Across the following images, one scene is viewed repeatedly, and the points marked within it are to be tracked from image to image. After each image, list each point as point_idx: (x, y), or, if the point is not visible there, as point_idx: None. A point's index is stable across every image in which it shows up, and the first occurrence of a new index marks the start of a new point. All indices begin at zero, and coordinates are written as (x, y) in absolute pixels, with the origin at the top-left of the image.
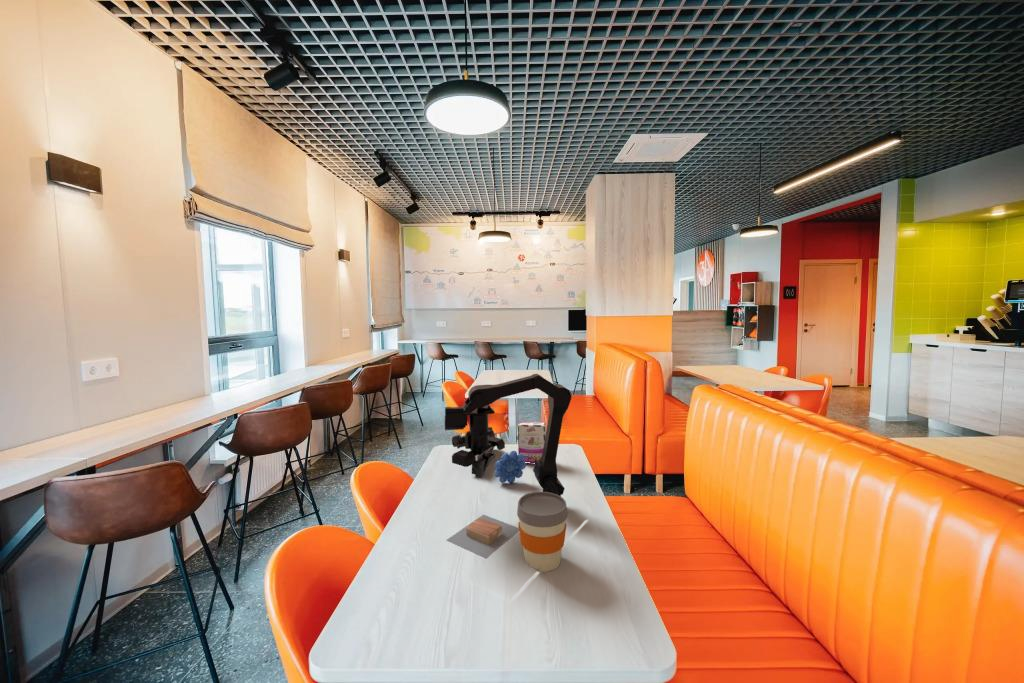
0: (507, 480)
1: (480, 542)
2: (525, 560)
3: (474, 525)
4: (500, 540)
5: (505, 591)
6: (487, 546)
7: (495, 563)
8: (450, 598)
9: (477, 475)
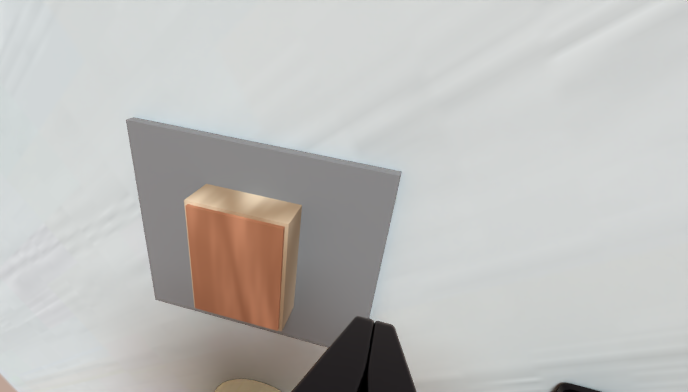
0: None
1: None
2: (217, 390)
3: (213, 232)
4: None
5: (117, 361)
6: None
7: (170, 319)
8: (10, 266)
9: (337, 342)
